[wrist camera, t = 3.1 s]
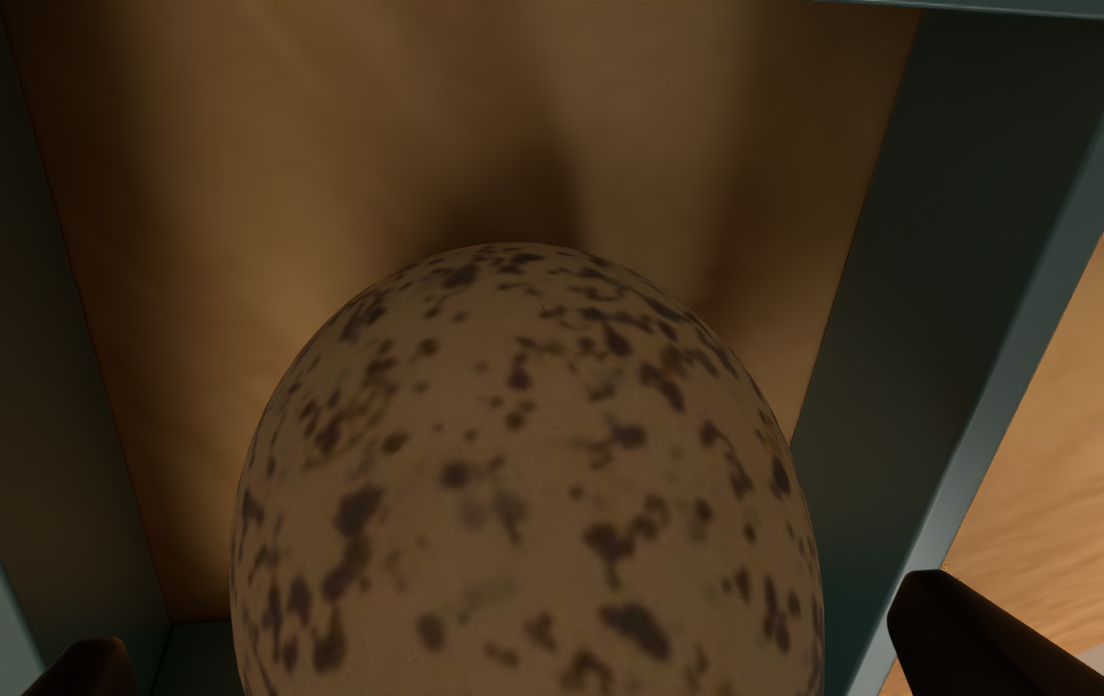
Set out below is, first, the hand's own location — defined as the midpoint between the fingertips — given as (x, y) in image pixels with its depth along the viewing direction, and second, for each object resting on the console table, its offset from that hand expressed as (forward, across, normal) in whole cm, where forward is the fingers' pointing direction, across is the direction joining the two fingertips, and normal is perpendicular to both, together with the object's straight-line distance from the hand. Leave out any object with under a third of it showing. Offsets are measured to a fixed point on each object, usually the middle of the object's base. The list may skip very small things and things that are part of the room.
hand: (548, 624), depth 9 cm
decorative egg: (+6, 0, 0) cm, 6 cm away
